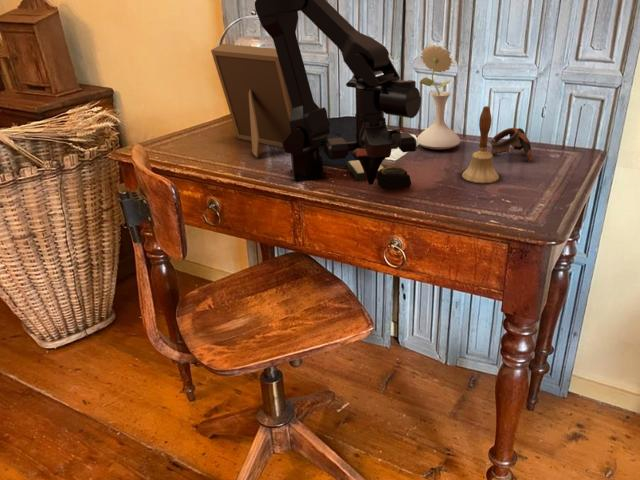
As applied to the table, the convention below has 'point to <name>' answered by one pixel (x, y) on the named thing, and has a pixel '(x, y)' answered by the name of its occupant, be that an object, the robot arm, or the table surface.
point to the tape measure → (393, 178)
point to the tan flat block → (358, 169)
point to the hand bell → (482, 155)
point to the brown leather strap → (512, 142)
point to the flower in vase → (437, 102)
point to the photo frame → (254, 93)
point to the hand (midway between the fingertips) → (370, 184)
